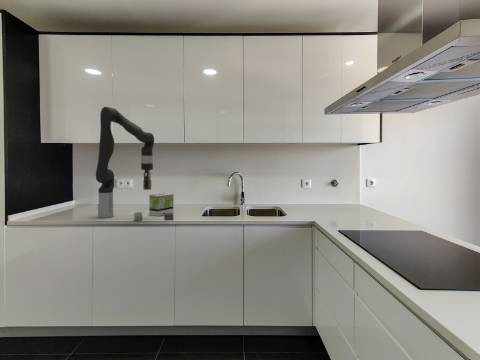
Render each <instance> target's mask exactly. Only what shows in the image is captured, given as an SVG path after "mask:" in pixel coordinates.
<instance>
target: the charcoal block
mask: <svg viewBox="0 0 480 360" xmlns="http://www.w3.org/2000/svg"><path fill="white" fill-rule="evenodd" d="M163 217H164V218H163V219H164V220H165V221H174V213H164V215H163Z"/></svg>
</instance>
